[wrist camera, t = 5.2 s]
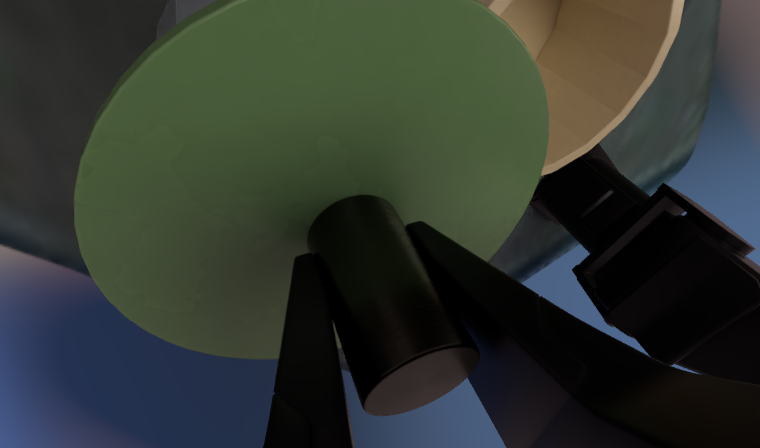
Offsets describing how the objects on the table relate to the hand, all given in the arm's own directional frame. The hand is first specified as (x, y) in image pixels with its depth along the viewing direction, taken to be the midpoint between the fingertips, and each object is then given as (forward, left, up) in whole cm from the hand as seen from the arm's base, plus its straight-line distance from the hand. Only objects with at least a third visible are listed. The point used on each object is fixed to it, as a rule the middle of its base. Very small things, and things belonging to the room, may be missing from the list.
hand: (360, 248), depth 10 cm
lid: (0, 0, -1) cm, 1 cm away
